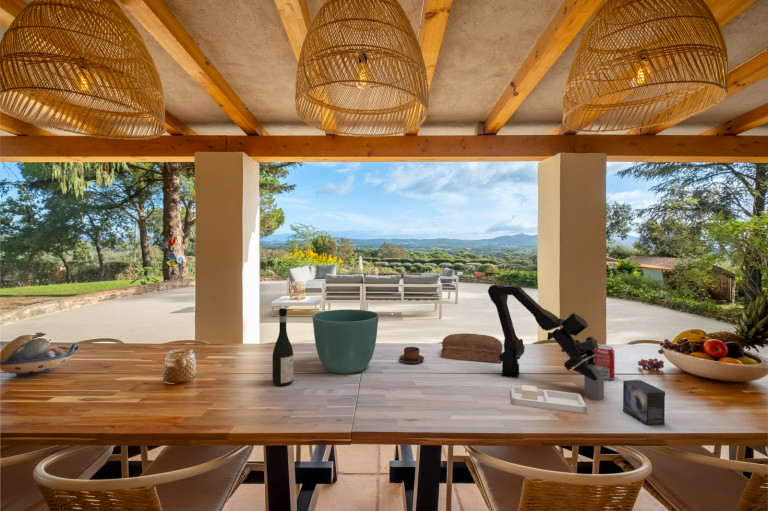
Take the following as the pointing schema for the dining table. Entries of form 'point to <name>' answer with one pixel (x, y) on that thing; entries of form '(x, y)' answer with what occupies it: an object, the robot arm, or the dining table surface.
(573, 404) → the white divided tray
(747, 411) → the dining table surface
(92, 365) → the dining table surface
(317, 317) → the flower pot
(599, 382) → the charcoal block
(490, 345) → the bread
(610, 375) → the soda can
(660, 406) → the small box
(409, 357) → the cup and saucer
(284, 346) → the wine bottle
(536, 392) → the cream block
